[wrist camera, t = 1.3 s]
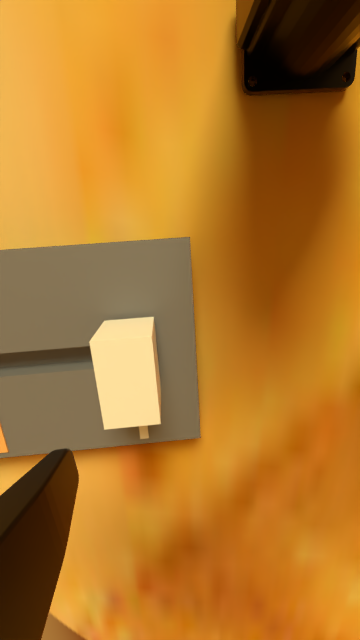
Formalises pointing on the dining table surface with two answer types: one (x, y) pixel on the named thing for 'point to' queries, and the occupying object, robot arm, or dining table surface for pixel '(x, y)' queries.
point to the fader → (127, 372)
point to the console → (75, 334)
